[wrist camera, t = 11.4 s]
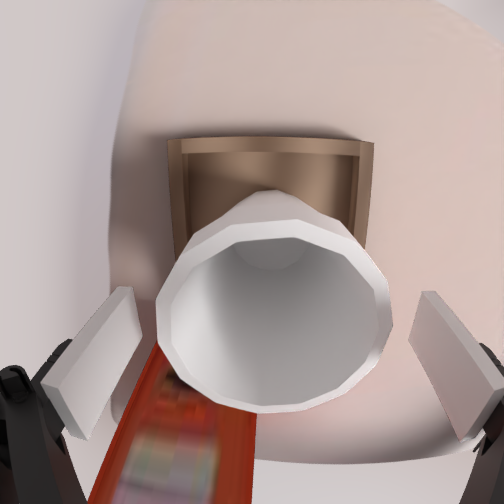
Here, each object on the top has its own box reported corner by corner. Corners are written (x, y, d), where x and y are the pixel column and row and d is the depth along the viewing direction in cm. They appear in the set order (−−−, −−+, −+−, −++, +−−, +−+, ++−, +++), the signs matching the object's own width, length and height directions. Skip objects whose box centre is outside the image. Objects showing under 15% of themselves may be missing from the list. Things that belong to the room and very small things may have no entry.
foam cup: (249, 303, 26) (238, 432, 14) (185, 212, 23) (109, 299, 11) (351, 249, 24) (416, 358, 12) (294, 145, 21) (332, 166, 9)
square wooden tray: (363, 141, 22) (374, 143, 19) (346, 304, 27) (353, 319, 25) (177, 138, 22) (167, 140, 20) (189, 302, 27) (182, 317, 25)
